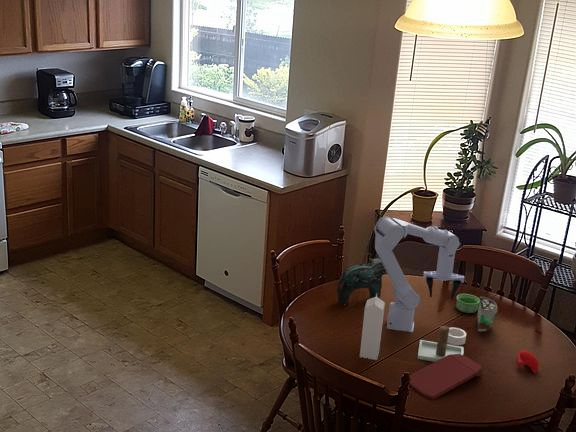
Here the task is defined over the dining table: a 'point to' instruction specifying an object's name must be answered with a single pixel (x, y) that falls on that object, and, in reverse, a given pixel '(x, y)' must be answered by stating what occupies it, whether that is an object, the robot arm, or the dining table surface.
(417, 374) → the dark red slab
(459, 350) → the tray
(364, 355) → the milk
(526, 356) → the red helmet
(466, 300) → the ramekin
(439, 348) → the dowel
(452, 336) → the cup
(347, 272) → the ceramic cat
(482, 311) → the food container
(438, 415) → the dining table surface
